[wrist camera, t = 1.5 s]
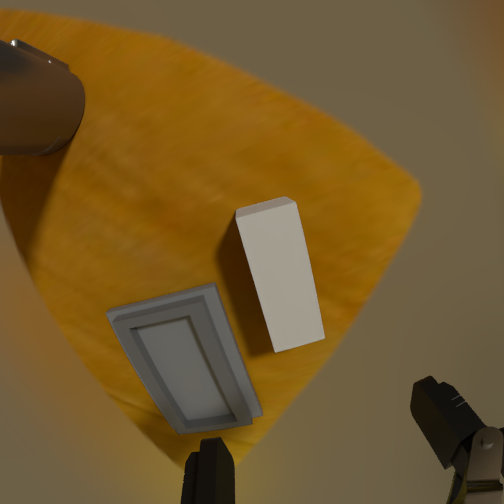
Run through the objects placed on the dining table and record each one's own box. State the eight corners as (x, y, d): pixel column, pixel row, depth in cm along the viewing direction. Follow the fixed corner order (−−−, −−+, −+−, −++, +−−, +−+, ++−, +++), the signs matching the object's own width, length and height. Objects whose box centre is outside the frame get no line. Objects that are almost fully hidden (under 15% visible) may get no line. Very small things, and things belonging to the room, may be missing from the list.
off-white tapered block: (269, 324, 29) (275, 352, 24) (236, 209, 26) (235, 218, 21) (312, 312, 29) (324, 338, 24) (285, 196, 26) (295, 202, 21)
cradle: (174, 423, 32) (171, 437, 30) (109, 309, 27) (99, 320, 25) (262, 410, 32) (263, 424, 30) (215, 282, 27) (213, 292, 25)
